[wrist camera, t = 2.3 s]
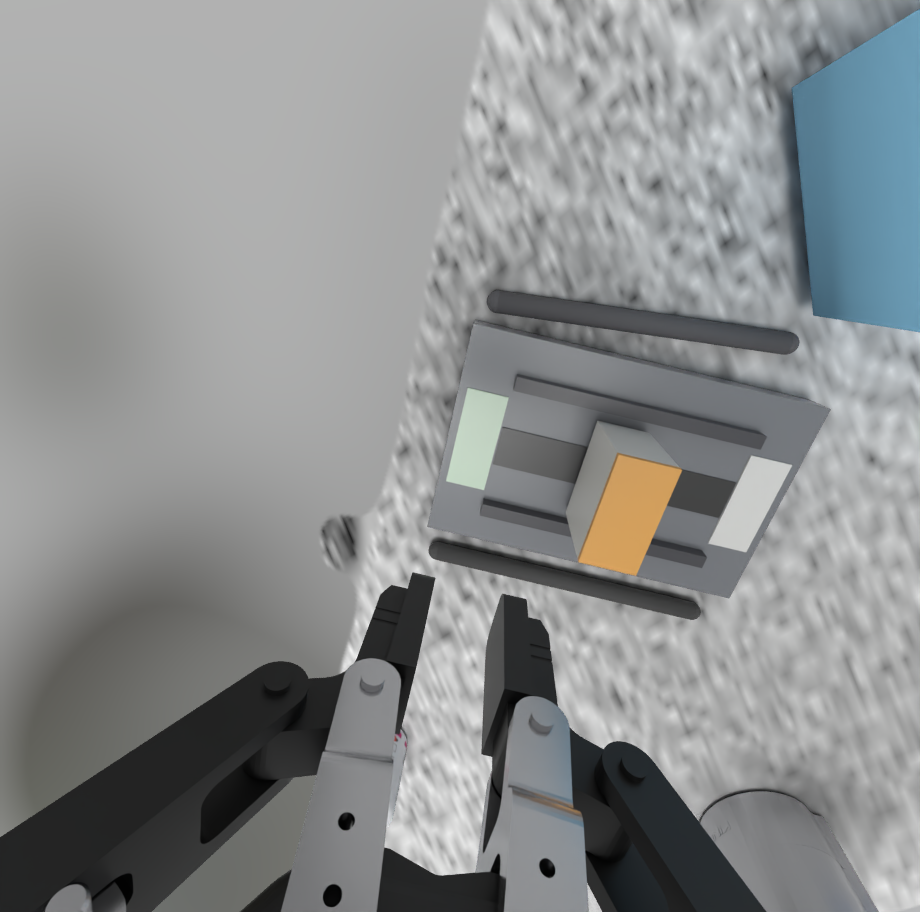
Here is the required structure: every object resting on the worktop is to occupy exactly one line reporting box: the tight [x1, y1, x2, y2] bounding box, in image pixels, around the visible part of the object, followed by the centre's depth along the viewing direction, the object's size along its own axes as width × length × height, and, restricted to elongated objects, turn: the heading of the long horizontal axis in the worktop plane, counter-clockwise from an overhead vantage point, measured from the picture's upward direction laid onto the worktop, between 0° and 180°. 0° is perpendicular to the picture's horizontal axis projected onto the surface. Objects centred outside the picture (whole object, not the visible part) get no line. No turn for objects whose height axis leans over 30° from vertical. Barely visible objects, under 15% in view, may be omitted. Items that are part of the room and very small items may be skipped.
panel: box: [427, 320, 831, 598], centre depth 29 cm, size 20×13×3 cm, turn 78°
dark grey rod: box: [429, 542, 701, 620], centre depth 33 cm, size 19×1×1 cm, turn 78°
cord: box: [487, 290, 799, 354], centre depth 27 cm, size 17×1×1 cm, turn 82°
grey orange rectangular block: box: [566, 421, 682, 576], centre depth 26 cm, size 3×6×5 cm, turn 167°
